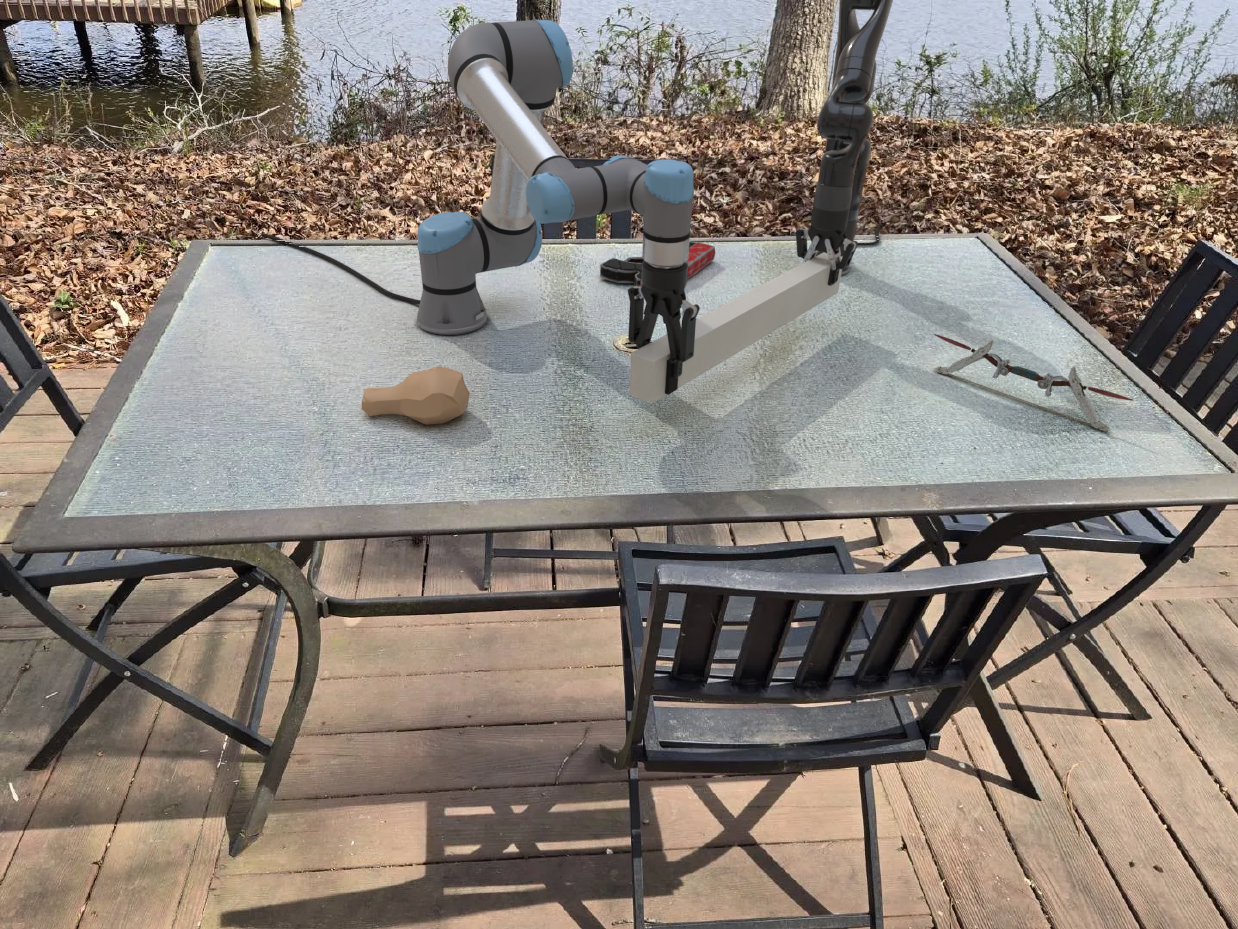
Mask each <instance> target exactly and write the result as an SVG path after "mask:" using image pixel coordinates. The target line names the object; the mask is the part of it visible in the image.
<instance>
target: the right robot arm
mask: <svg viewBox="0 0 1238 929" xmlns="http://www.w3.org/2000/svg"><path fill="white" fill-rule="evenodd" d="M893 2H894V0H839V1H838V27H837V40H836V50H835V56H834V64H833V72H832V82H831V90H830V92H829V95H828V96H827V98H826V100H825V101H824V103H823V105H822V107H821V109H820V111H819V114H818V116H817V121H816V128H817V131H818V134H819V135H820V136H821V137H822V138H823V139H826V140H825V146H824V153H823V154H822V156H821V158H820V159H821V160H820V164H819V171H818V177H817V178H818V179H817V184H816V186H815V187H816V188H815V192H814V196H813V204H812V211H811V217H810V226H809V227H808V228H806V227H800V228H798V229H797V230H796V231H795V241H796V242H795V244H796V255H797V257H798V258H801V259H803V261H804V262H806V261H808V260H810V259H812V258H814V257H816V256H818V255H820V254H822V253H824V252H825V253H827V254H828V259H829V260H830V265H831V269H830V273H829V279H828V285H829V286H832V285H833V284H835V283H836V282H837V281H838V276H839V270H840V269H842V273H841V276H844V275H846V274H848V273H849V272H850V266H851V262H852V259H853V257H854V255H855V252H856V250H857V248H858V247H868V246H875V245H877V244H878V243H879V242H880V236H879V234H880V230H881V229H882V228H883V224H882V223H881V222H880V223H879V224H878V225H877V228H876V231H875V235H874V236H875V239H876V240H875V241H870V242H858V241H857V240H855V238H856V232H857V228H858V221H859V216H860V210H861V204H862V198H863V192H864V186H865V181H866V177H867V172H868V168H869V163H870V160H871V154H872V143H871V141H870V140H869V139H868V135H869V134H870V132H871V129H872V127H873V123H874V111H873V109H872V107H871V106H870V105H869V104H867V103H868V102H869V101H870V99H871V96H873V92H874V88H875V81H876V75H877V61H876V57H877V54H878V51H879V50H878V49H879V47H880V45H881V41H882V37H883V36H884V31H885V29H886V26H887V22H888V19H889V16H890V13H891V9H892V6H893ZM856 10H857V11H873V12H872V14H871V15H870V17H869V18H868V20H867V21H866V22H865V23H864V24H863V26H862V27H861V28H860V26H859V22H858V18H857V12H856ZM876 236H879V237H876ZM808 237H809V239H810V242H811V243H810V245H809V247H808ZM877 239H879V240H877ZM840 257H842V260H841V259H840Z"/></svg>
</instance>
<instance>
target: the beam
mask: <svg viewBox="0 0 1238 929" xmlns="http://www.w3.org/2000/svg"><path fill="white" fill-rule="evenodd" d="M840 259H841V260H842V257H840ZM830 269H831V265H830V260H829V259H828V254H827V253H825V252H824V253H822V254H820V255H818V256H816V257H814V258H812V259H810V260H808V261H806V262H805V261H804V262H803V263H800V264H799V265H796V266H795V267H793V268H791V269H789V270H787V271H786V272H784V273H781V274H780V275H778V276H776V277H774V278H772V279H770V280H768V281H766V282H764V283H762V284H760V285H758V286H756V287H755V288H753V289H751V290H749V291H747V292H745V293H743V294H740V295H739V296H737V297H736V298H733V299H731V300H730V301H728V302H726V303H724V304H722V305H720V306H718V307H716V308H714V309H712V310H711V311H709V312H707V313H705V314H702V315H701V316H699V317H696V327H695V343H694V356H693V357H692V358H690V359H688V360H687V361H685V362H683V366H682V374H681V376H679V377H678V389H680V388H681V387H683V386H685V385H686V384H688V383H689V382H691V381H693V380H695V379H696V378H698V377H700V376H702V375H703V374H705V373H706V372H708V371H710V370H712V369H713V368H715V367H716V366H718V365H720V364H721V363H723V362H724V361H727V360H728V359H730V358H731V357H733V356H735V355H736V354H739V353H740V352H741V351H743V350H745V349H746V348H748V347H749V346H752V345H753V344H756V343H757V342H759V341H760V340H762V339H764V338H765V337H767V336H769V335H770V334H772V333H773V332H775V331H776V330H778V329H780V328H782V327H784V326H785V325H787V324H789V323H790V322H792V321H794V320H795V319H797V318H799V317H800V316H802V315H803V314H806V313H807V312H809V311H810V310H811V309H814V308H816V307H817V306H818V305H821V304H822V303H824V302H825V301H827V300H828V299H830V298H833V296H835V295H837V294H839V290H840V283H841V278H842V275H841V273H842V269H840V270H839V276H838V281H837V282H836V283H835V284H833V285H832V286H829V285H828V279H829V273H830ZM650 342H651V341H650ZM670 358H671V356H670V349H669V343H668V337H667V333H666V334H665V335H662V336H661V337H658V338H657V339H654V340H652V342H651V343H649V344H647V345H645V346H644V347H642V348H640V349H638V348H637V349H636V350H633V351H631V352H630V366H629V369H630V370H629V392H628V394H629V396H632V397H634V398H635V399H638V400H641V401H643V402H645V403H647V404H649V405H653V404H654V403H656V402H658V401H659V400H661V399H663V398H665V397H666V396H668V395H667V394H665V383H666V367H667V360H668V359H670Z"/></svg>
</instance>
